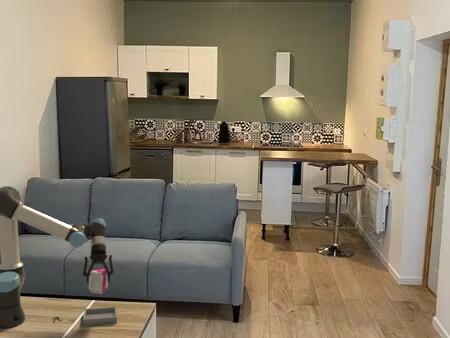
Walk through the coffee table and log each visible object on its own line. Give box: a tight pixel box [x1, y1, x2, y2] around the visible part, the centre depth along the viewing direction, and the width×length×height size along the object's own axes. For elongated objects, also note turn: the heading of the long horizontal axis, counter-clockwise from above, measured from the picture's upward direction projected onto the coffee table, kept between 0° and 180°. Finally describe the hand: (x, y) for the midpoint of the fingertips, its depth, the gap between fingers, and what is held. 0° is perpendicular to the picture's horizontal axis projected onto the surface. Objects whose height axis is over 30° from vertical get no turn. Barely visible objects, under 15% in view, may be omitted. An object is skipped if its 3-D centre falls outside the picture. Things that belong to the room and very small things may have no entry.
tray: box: [82, 305, 118, 327], centre depth 241 cm, size 16×13×3 cm
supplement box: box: [90, 267, 107, 296], centre depth 239 cm, size 6×6×12 cm
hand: (98, 288), depth 236 cm, fingers closed on supplement box, 7 cm apart
